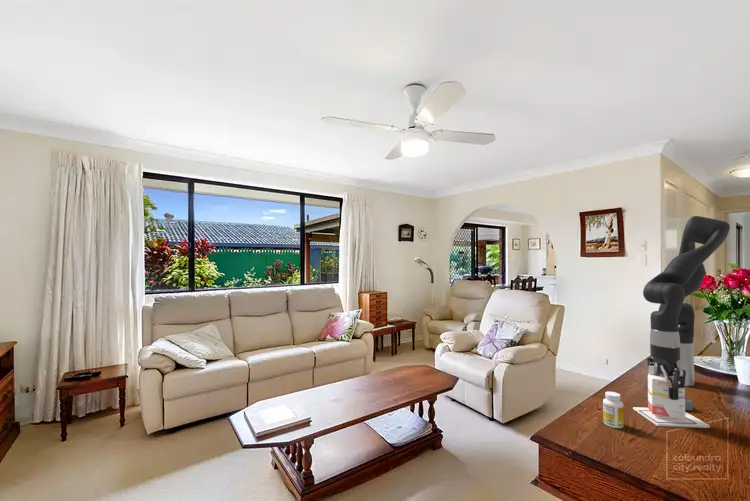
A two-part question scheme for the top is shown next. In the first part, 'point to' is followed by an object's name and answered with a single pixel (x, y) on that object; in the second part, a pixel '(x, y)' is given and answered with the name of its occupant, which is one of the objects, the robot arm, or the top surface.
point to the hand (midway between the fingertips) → (666, 395)
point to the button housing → (688, 404)
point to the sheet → (671, 419)
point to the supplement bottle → (613, 410)
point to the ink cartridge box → (664, 397)
